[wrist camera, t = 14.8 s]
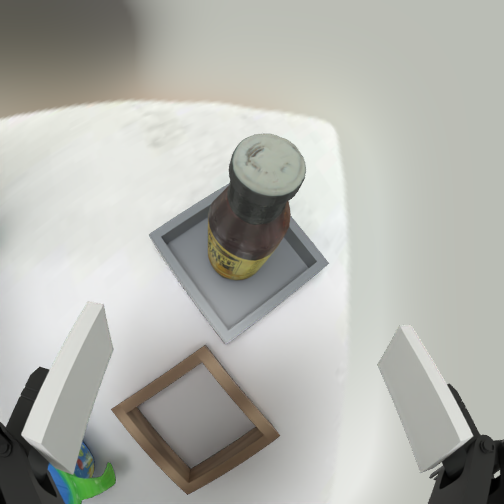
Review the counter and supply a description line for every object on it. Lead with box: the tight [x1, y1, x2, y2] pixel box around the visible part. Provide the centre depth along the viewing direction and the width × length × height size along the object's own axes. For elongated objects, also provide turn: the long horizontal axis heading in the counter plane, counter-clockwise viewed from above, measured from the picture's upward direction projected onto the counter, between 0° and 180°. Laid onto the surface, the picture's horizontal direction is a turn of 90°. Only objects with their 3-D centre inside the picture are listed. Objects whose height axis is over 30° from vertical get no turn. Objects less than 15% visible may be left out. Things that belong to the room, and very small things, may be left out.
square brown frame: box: [111, 345, 280, 495], centre depth 27 cm, size 12×12×4 cm
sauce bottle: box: [208, 134, 306, 280], centre depth 24 cm, size 7×6×20 cm
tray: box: [149, 183, 329, 344], centre depth 33 cm, size 14×14×4 cm
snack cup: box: [48, 442, 116, 504], centre depth 20 cm, size 16×11×10 cm
